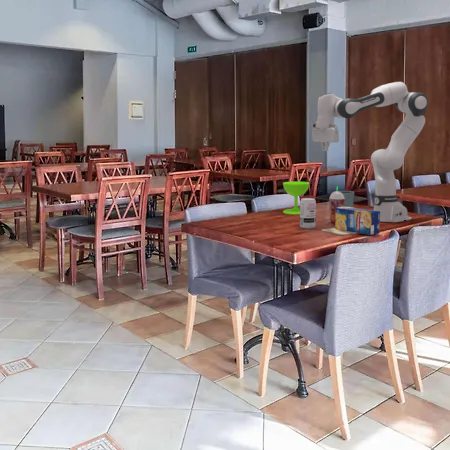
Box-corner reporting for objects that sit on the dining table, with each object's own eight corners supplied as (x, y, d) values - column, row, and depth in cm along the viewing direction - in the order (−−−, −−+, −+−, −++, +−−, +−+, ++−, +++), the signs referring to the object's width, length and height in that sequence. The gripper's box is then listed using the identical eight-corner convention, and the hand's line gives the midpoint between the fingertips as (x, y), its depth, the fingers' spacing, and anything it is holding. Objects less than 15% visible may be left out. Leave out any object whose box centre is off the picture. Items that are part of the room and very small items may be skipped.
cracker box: (335, 229, 288) (370, 235, 271) (335, 207, 286) (371, 212, 269) (344, 227, 292) (379, 233, 275) (344, 206, 290) (380, 211, 273)
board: (347, 227, 294) (347, 226, 294) (366, 232, 280) (366, 231, 280) (321, 230, 287) (321, 229, 287) (339, 235, 274) (339, 234, 274)
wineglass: (278, 211, 352) (278, 182, 349) (302, 209, 357) (302, 181, 353) (289, 215, 337) (289, 184, 334) (313, 213, 342) (314, 183, 338)
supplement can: (305, 225, 303) (305, 197, 300) (318, 226, 298) (318, 198, 295) (296, 227, 297) (297, 199, 294) (310, 229, 291) (310, 200, 289)
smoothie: (342, 221, 313) (342, 185, 310) (345, 223, 305) (346, 186, 302) (327, 221, 313) (327, 185, 310) (330, 224, 305) (331, 187, 301)
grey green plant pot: (356, 210, 349) (356, 191, 347) (350, 213, 341) (350, 193, 338) (340, 209, 354) (340, 190, 352) (334, 211, 346) (334, 192, 344)
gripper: (342, 124, 292) (341, 151, 294) (320, 124, 310) (319, 149, 313) (332, 124, 289) (331, 151, 292) (310, 124, 308) (309, 150, 310)
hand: (325, 150), depth 302 cm, fingers closed
